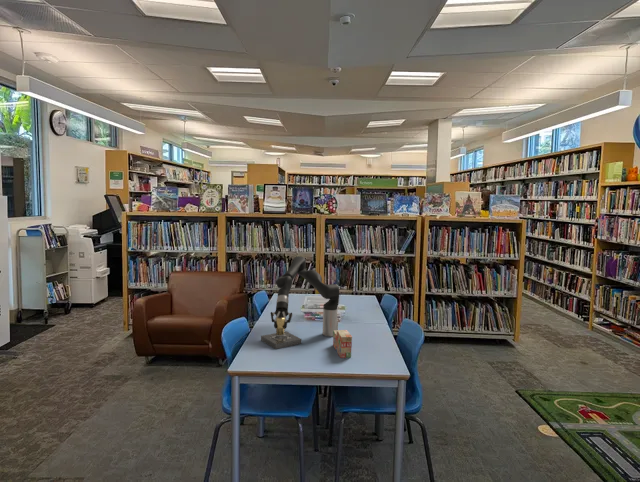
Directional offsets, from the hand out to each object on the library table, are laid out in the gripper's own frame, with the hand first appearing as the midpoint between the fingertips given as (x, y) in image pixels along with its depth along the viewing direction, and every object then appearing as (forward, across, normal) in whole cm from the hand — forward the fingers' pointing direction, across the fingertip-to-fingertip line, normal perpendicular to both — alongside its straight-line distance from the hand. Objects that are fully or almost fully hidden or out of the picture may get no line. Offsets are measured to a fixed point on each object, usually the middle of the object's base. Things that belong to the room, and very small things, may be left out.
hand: (280, 328), depth 248 cm
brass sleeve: (+2, 0, -4) cm, 5 cm away
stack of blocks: (+15, -37, +2) cm, 40 cm away
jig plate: (+6, -1, -7) cm, 9 cm away
